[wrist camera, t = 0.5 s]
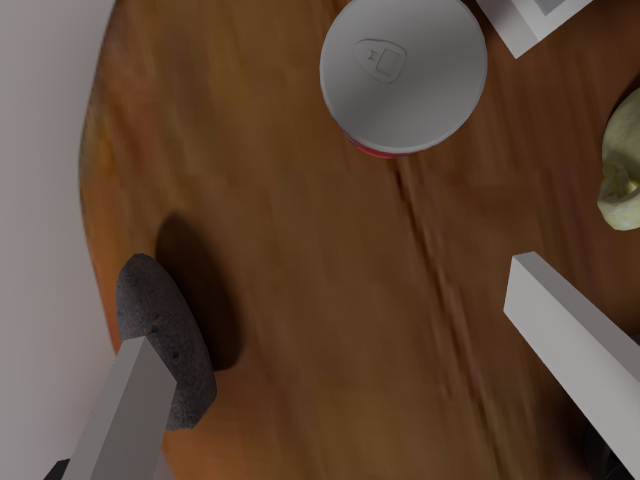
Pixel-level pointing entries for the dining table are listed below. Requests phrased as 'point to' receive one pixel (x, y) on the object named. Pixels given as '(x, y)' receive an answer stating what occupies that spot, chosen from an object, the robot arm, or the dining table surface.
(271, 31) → the dining table surface
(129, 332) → the perforated stone tool
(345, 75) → the canned food
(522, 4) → the tray
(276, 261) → the dining table surface
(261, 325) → the dining table surface
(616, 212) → the mug
